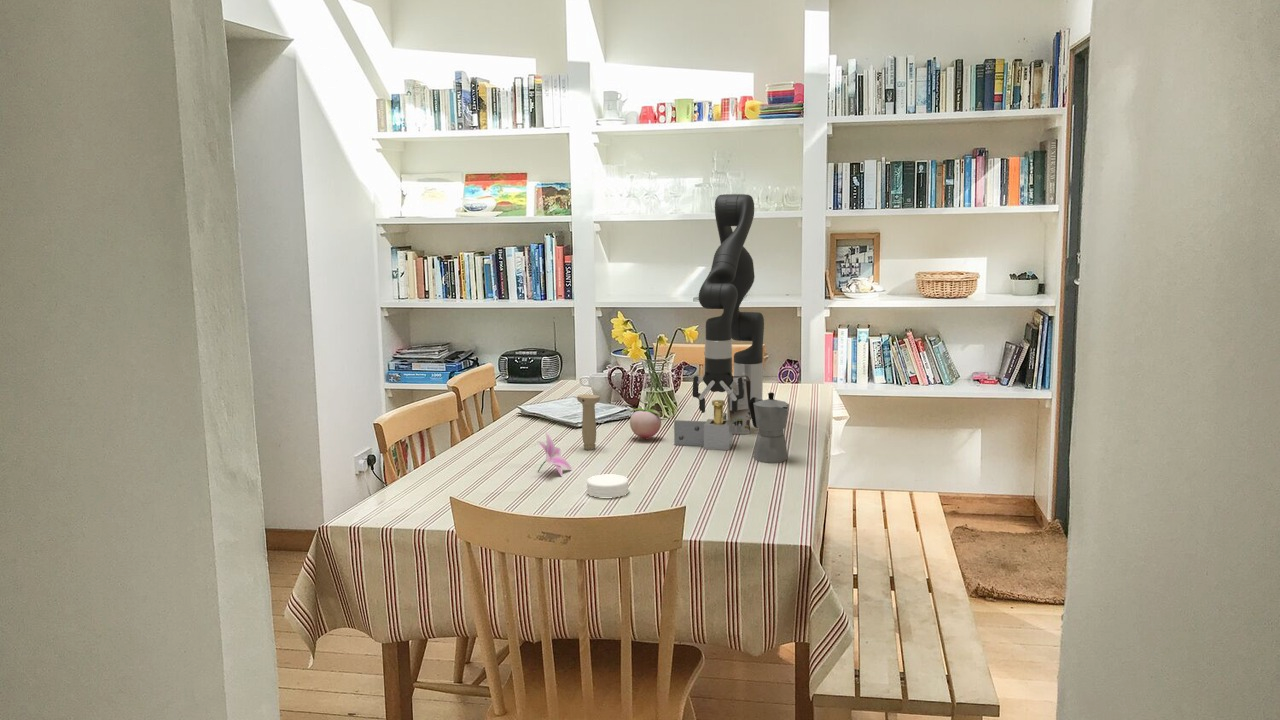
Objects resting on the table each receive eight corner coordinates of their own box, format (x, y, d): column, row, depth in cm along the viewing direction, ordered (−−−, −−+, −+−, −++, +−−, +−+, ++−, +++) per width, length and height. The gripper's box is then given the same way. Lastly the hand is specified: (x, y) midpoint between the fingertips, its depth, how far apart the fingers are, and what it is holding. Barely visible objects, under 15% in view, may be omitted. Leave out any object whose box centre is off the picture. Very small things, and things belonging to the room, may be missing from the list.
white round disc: (605, 485, 237) (605, 471, 237) (637, 492, 231) (637, 478, 231) (578, 494, 230) (577, 480, 229) (609, 502, 223) (609, 487, 223)
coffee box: (750, 434, 286) (751, 380, 283) (728, 434, 286) (729, 380, 283) (748, 427, 295) (748, 375, 292) (726, 427, 295) (726, 375, 292)
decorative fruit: (626, 442, 278) (625, 408, 277) (633, 435, 286) (632, 402, 284) (658, 444, 276) (657, 409, 274) (664, 437, 284) (663, 403, 282)
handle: (593, 452, 268) (592, 398, 265) (575, 449, 271) (573, 396, 269) (603, 448, 272) (602, 395, 269) (585, 445, 275) (584, 393, 273)
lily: (540, 486, 240) (559, 453, 238) (512, 460, 247) (530, 428, 245) (570, 489, 250) (588, 458, 248) (543, 464, 256) (560, 434, 255)
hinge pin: (713, 444, 274) (713, 399, 272) (725, 445, 273) (725, 400, 271) (711, 447, 271) (711, 402, 269) (723, 448, 270) (724, 402, 268)
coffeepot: (800, 461, 256) (801, 394, 253) (773, 466, 251) (774, 398, 248) (762, 449, 268) (762, 385, 266) (735, 454, 263) (736, 389, 260)
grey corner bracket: (683, 434, 287) (682, 411, 286) (736, 436, 283) (736, 413, 282) (672, 447, 272) (672, 423, 270) (728, 450, 268) (729, 425, 267)
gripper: (745, 354, 270) (745, 411, 272) (695, 352, 273) (695, 409, 276) (742, 358, 263) (742, 416, 265) (690, 357, 266) (690, 414, 269)
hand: (718, 412), depth 270 cm, fingers open, 8 cm apart
